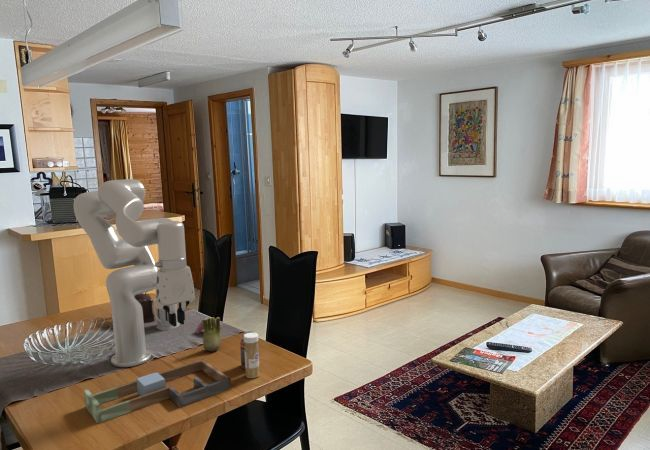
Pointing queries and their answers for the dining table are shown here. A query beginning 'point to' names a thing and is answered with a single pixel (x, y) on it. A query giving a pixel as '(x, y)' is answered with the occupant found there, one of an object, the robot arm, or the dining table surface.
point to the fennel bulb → (212, 334)
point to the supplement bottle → (244, 349)
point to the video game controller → (203, 326)
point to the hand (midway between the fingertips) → (177, 323)
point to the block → (150, 383)
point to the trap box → (157, 392)
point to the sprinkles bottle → (251, 355)
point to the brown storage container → (146, 306)
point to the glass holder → (164, 318)
